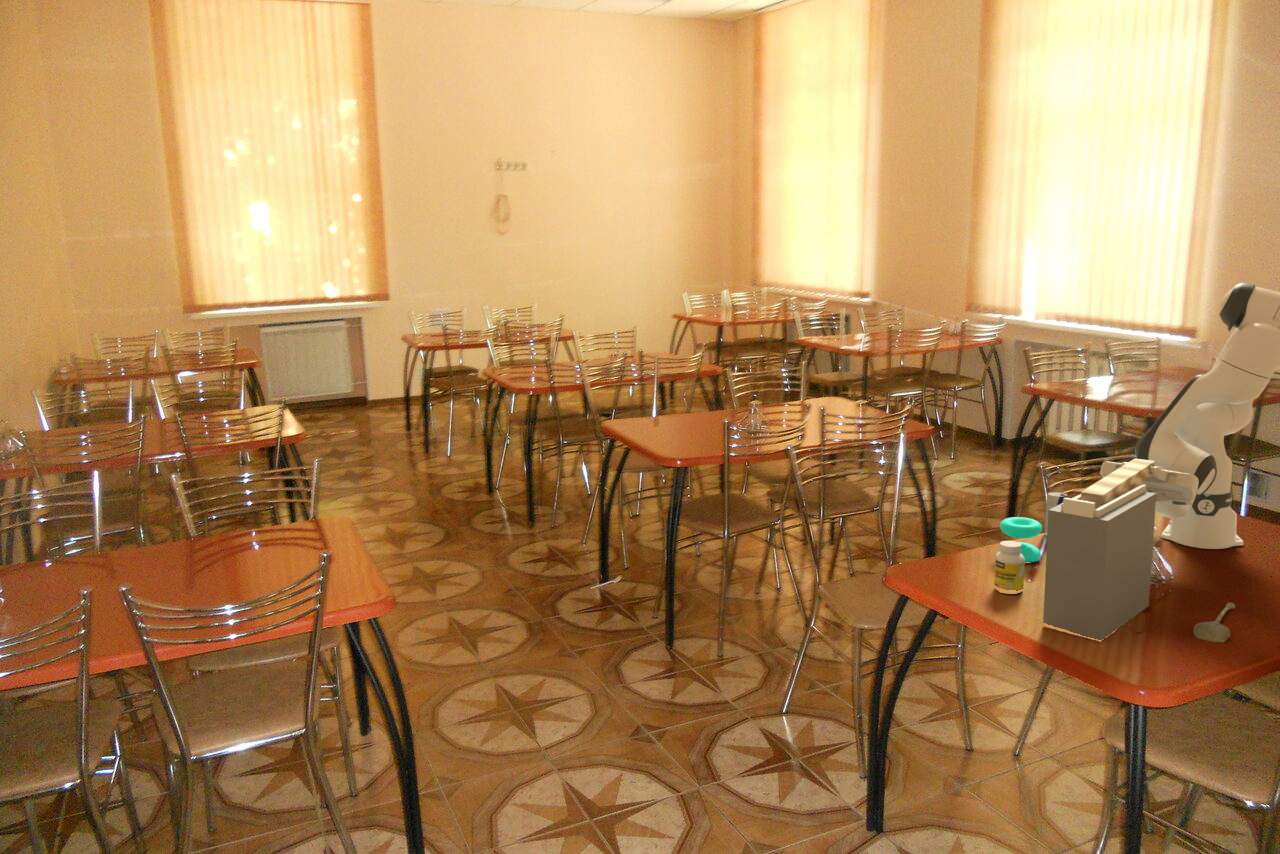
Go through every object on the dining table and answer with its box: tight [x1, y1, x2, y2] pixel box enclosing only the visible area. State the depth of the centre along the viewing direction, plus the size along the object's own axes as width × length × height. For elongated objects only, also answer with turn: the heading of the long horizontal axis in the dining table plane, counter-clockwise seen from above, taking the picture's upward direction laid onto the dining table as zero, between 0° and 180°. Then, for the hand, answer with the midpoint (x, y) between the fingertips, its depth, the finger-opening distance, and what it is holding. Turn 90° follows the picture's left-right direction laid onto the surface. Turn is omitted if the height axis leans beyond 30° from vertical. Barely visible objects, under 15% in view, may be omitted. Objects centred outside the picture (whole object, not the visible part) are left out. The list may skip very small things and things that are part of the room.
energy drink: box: [1044, 491, 1069, 534], centre depth 264 cm, size 5×5×12 cm
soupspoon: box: [1192, 602, 1236, 643], centre depth 205 cm, size 22×3×7 cm
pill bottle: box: [993, 540, 1026, 591], centre depth 227 cm, size 6×6×12 cm
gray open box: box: [1042, 484, 1156, 640], centre depth 209 cm, size 26×12×29 cm, turn 133°
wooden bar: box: [1080, 458, 1155, 508], centre depth 212 cm, size 30×4×3 cm, turn 134°
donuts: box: [998, 516, 1043, 563], centre depth 248 cm, size 10×10×10 cm
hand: (1138, 467), depth 220 cm, fingers closed on wooden bar, 4 cm apart
